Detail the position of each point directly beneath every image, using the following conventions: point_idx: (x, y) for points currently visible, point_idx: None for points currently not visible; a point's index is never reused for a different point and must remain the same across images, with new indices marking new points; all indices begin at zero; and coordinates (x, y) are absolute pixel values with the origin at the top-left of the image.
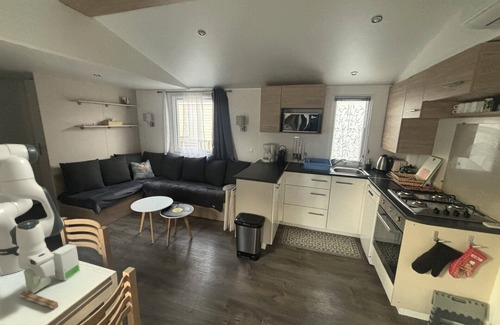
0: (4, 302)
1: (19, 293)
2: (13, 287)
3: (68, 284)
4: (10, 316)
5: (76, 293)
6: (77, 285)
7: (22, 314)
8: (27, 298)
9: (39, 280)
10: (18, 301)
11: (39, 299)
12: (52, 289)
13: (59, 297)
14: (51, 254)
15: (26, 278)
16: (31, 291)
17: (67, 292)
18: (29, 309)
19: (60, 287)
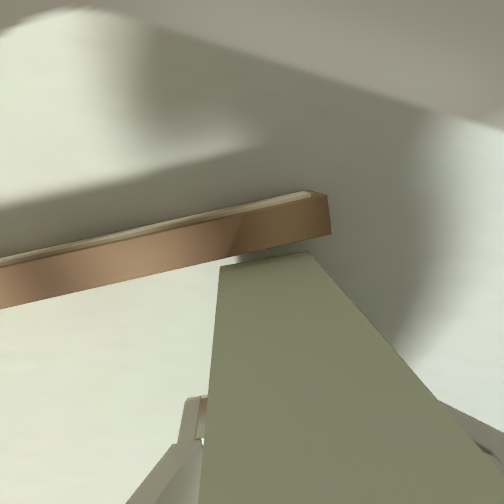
0: (375, 92)
1: (324, 196)
2: None
3: (133, 435)
4: (82, 51)
5: None
6: (56, 465)
7: (14, 125)
8: (191, 217)
9: (201, 416)
10: (268, 165)
11: (6, 276)
12: (178, 359)
13: (5, 360)
14: None
15: (347, 373)
16: (239, 270)
17: (23, 408)
18: (43, 182)
19: (148, 396)
